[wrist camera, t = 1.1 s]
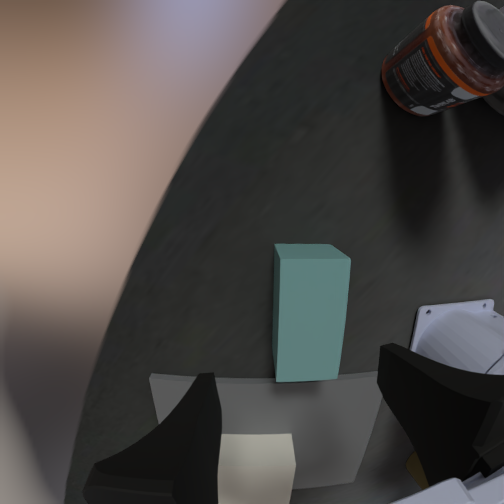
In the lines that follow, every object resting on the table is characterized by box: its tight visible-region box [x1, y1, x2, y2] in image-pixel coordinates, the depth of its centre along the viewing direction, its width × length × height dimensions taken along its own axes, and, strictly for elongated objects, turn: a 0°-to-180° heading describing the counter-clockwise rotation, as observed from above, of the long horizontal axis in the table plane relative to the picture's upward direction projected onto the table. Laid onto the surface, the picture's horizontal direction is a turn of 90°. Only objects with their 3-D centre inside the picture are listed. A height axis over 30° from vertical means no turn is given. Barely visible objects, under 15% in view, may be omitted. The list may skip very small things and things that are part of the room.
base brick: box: [218, 434, 296, 504], centre depth 23 cm, size 8×8×4 cm
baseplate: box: [149, 371, 382, 489], centre depth 25 cm, size 20×16×1 cm
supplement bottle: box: [382, 1, 504, 116], centre depth 13 cm, size 6×6×11 cm
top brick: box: [272, 244, 351, 382], centre depth 20 cm, size 4×8×5 cm, turn 0°
